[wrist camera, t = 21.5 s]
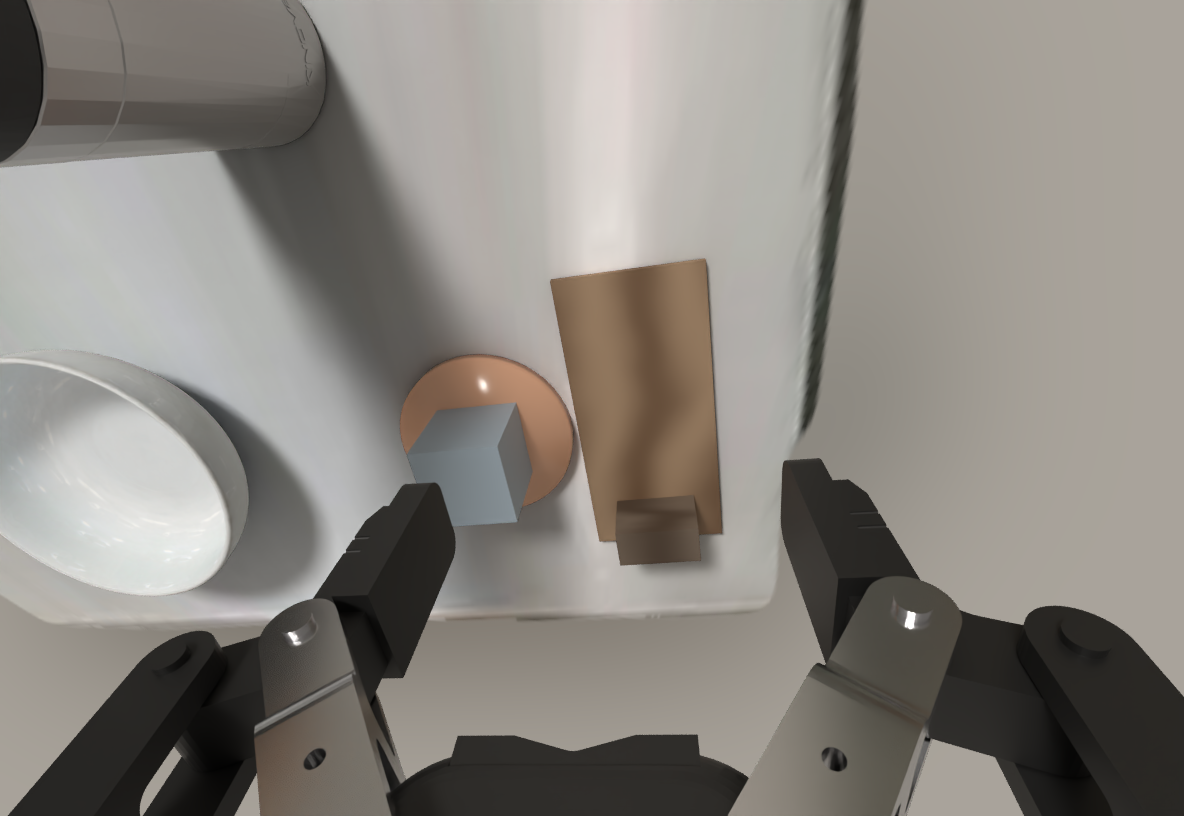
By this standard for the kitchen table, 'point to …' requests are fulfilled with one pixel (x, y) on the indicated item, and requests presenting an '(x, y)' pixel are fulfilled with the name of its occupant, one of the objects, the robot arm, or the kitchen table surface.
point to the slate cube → (475, 462)
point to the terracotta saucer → (490, 385)
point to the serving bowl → (115, 474)
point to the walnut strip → (644, 405)
